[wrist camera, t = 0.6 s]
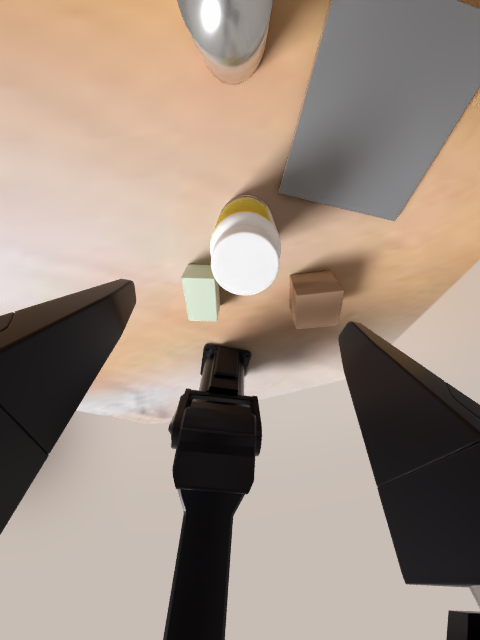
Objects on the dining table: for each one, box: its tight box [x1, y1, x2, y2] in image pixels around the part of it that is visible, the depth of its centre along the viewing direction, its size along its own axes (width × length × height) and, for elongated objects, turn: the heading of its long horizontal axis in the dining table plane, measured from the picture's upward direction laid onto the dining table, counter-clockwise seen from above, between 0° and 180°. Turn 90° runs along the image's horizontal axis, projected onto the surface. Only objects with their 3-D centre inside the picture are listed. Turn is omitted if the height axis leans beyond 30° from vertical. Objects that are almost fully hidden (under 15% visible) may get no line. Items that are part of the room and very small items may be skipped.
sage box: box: [181, 264, 220, 321], centre depth 22 cm, size 5×3×3 cm, turn 179°
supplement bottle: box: [210, 195, 281, 296], centre depth 15 cm, size 5×5×8 cm
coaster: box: [278, 0, 480, 221], centre depth 14 cm, size 10×10×1 cm
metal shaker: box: [177, 0, 273, 85], centre depth 10 cm, size 4×4×5 cm
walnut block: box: [290, 270, 344, 329], centre depth 21 cm, size 4×4×4 cm
